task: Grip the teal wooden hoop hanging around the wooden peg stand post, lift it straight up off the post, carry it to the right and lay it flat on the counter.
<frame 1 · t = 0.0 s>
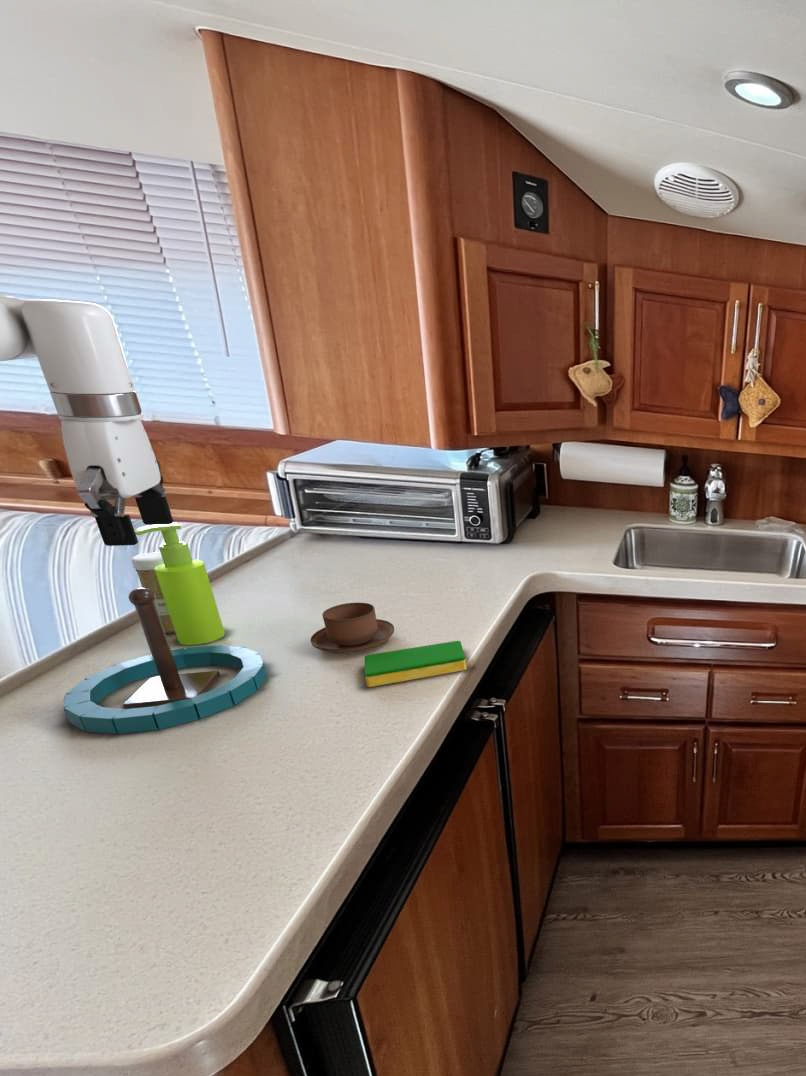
hand: (141, 533, 88), 23 cm above the table, tool pointing down, fingers open, 9 cm apart
soap dispenser: (198, 639, 107), on the table
cup and saucer: (355, 644, 110), on the table
sprinkles bottle: (174, 629, 110), on the table
wooden peg stand: (175, 692, 93), on the table
dish sponge: (417, 670, 104), on the table
hoop: (175, 692, 93), on the table
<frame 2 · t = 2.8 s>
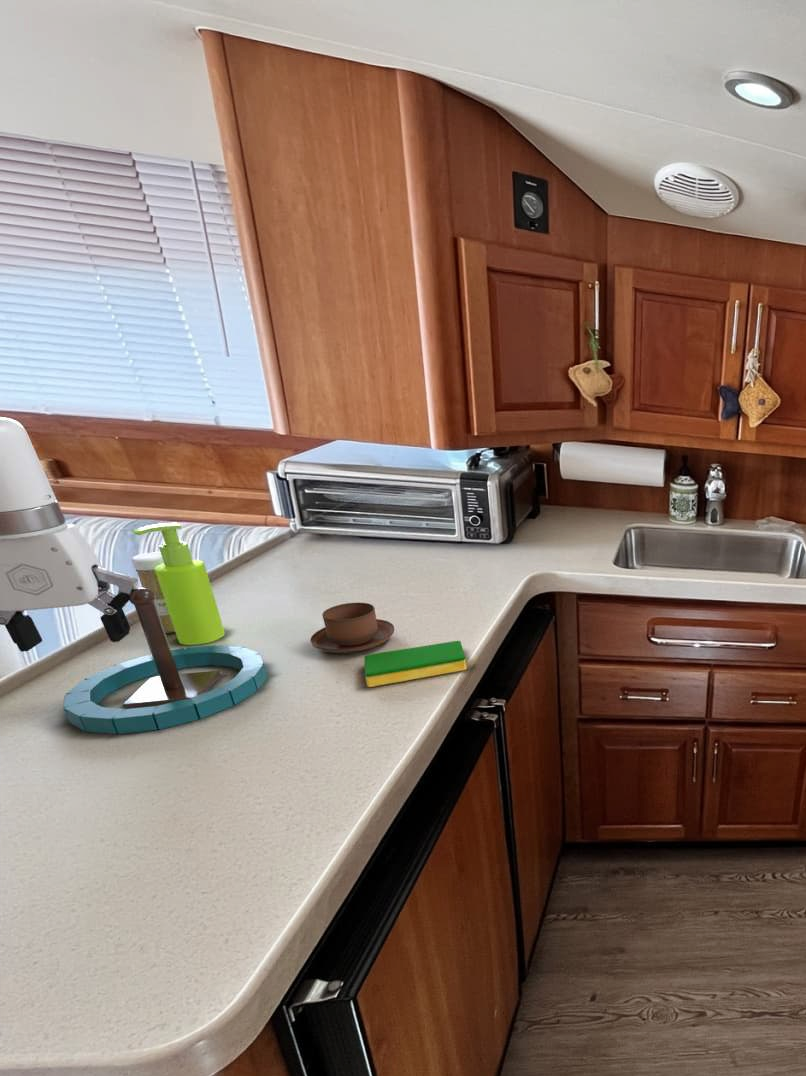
hand: (77, 641, 86), 9 cm above the table, tool pointing down, fingers open, 8 cm apart
nothing on the table moved.
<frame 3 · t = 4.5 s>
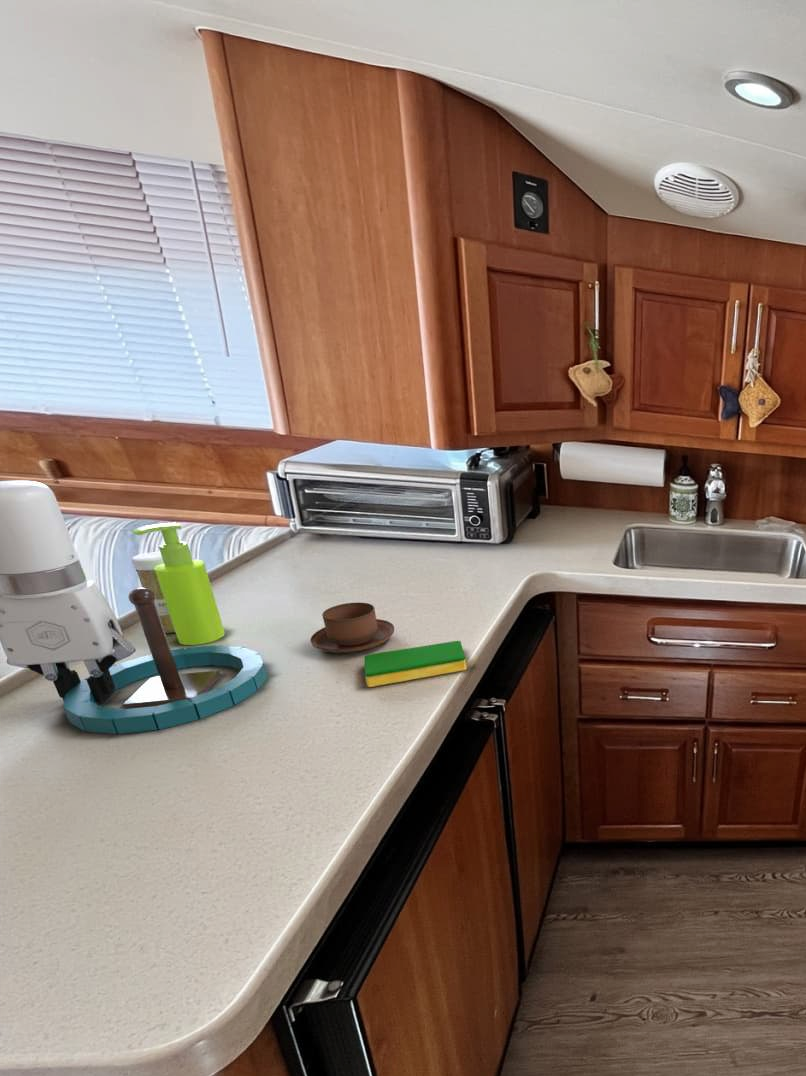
hand: (90, 698, 89), 0 cm above the table, tool pointing down, fingers closed on hoop, 2 cm apart
hoop: (175, 692, 93), on the table, touching gripper
everything else where it was.
when the fingers open (0 cm above the table, at t = 15.0 s): hoop stays where it is, on the table.
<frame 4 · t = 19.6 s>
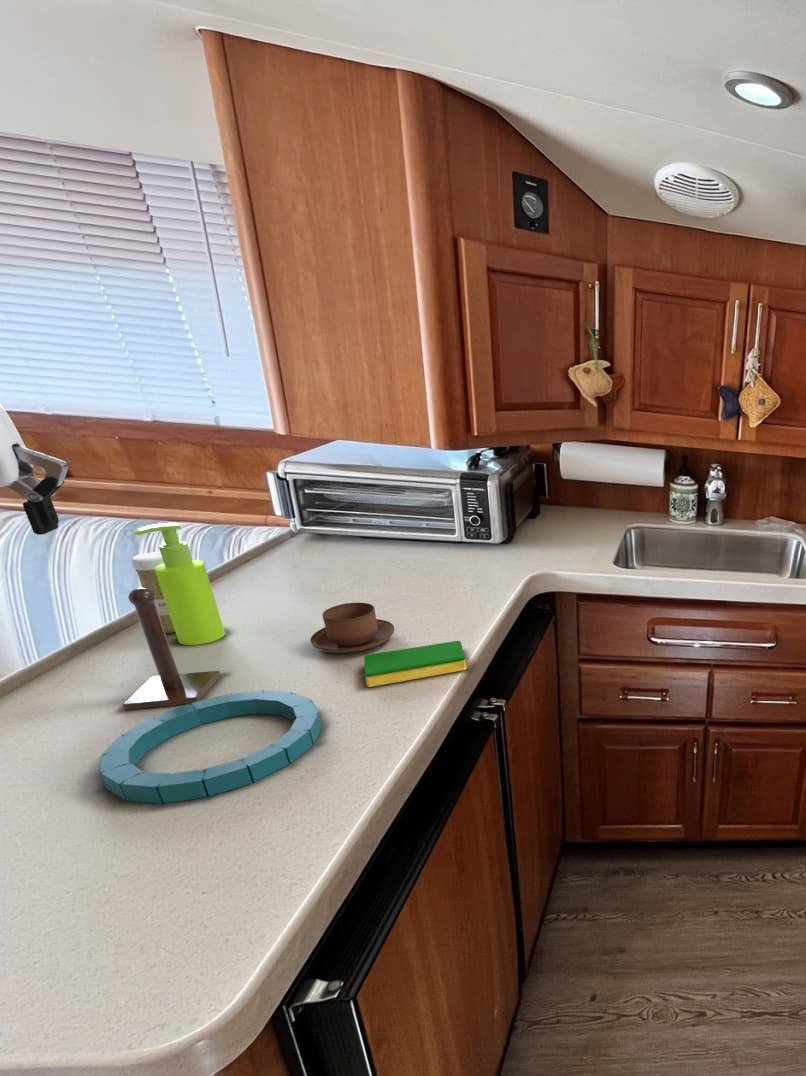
hoop: (222, 748, 82), on the table
everything else where it was.
at the end: hoop inside the target area (0.0 cm from its centre), on the table; hoop tilted 0°; the gripper is holding nothing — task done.
